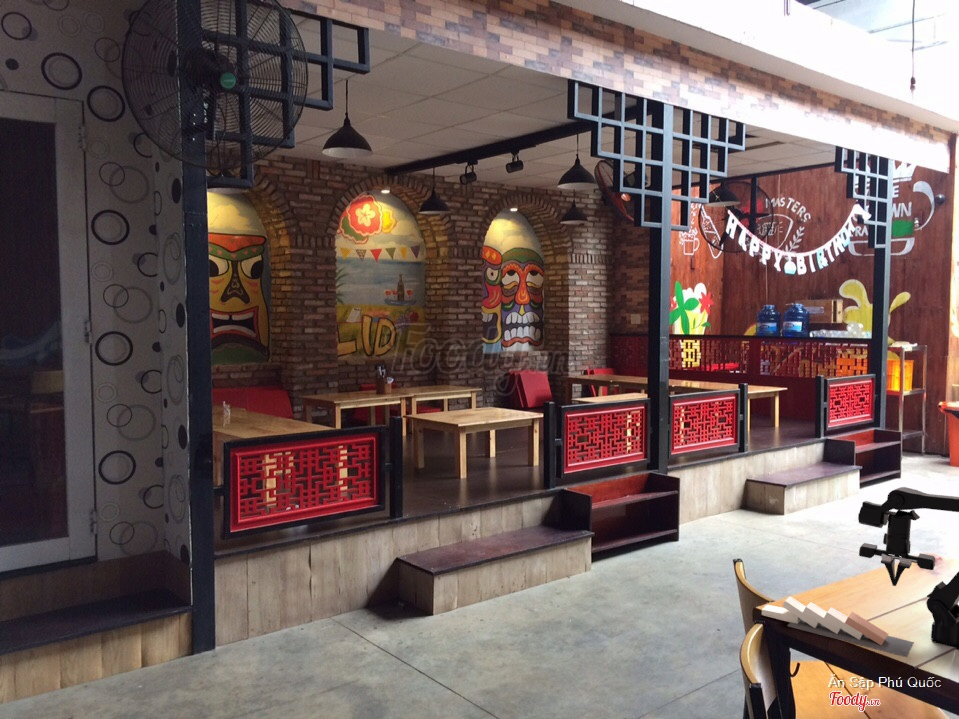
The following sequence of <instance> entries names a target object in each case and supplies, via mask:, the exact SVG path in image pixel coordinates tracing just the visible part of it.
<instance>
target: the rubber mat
mask: <svg viewBox="0 0 959 719" xmlns="http://www.w3.org/2000/svg"><path fill="white" fill-rule="evenodd" d="M787 627H789V628H794V629H796V630H800V631H804V632H808V633H813V634H815V635H820V636H823V637H827V638H831V639H835V640H839V641H843V642H846V643H850V644H854V645H857V646H858V645H859V646H862V647H865V648H870V649H873V650H877V651H882V652H884V653H888V654H892V655H896V656H900V657H905V658H907V657H908V655H909V654H910V651H911V650H912V647H913V645H914V643H915V642H914V641H910V640H905V639H902V638H898V637H894V636H890V635H888V636H887V637H886V639H885V641H884V642H883V644H882V645H880V644H878V643H876V642H875V641H873V640H872V639H870V638H868V637H867V636H865V635H864V634H863V635H862V637H861V638H860V640H859V639H857V638H855V637H854V636H852V635H851V634H849V633H847V632H846V631H844V630H842V629H841V630H840V631H839V632H838V634H836V633H834V632H833V631H831V630H830V629H828V628H827V627H825V626H823V625H822V624H820V623H819V624H818V625H817V626H816V628H814V627H812V626H811V625H809V624H808V623H806V622H805V621H803V620H802V619H801V620H800V621H799V623H798V624H797V623H792V622H789V623H788V624H787Z"/></svg>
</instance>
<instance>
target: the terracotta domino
mask: <svg viewBox="0 0 959 719" xmlns="http://www.w3.org/2000/svg"><path fill="white" fill-rule="evenodd" d="M847 617H848V618H847V620H846V622H845V623H846V624H847V625H849V626H851V627H852V628H854V629H856V630H857V631H859V632H860V633H862V634H864V635H865V636H867V637H868V638H870V639H872V640H873V641H875V642H876V643H878V644H880V645H882V644H883V642H884V641H885V639H886V637H887V636H889V633H888V632H887V631H885V630H884V629H881V628H880V627H878V626H877V625H875V624H874V623H871V622H870V621H868V619H867V620H866V619H865V618H863V617H861V616H860V615H858V614H857V613H855V612H854V611H851V613H850V614H849V615H848V616H847Z"/></svg>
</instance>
